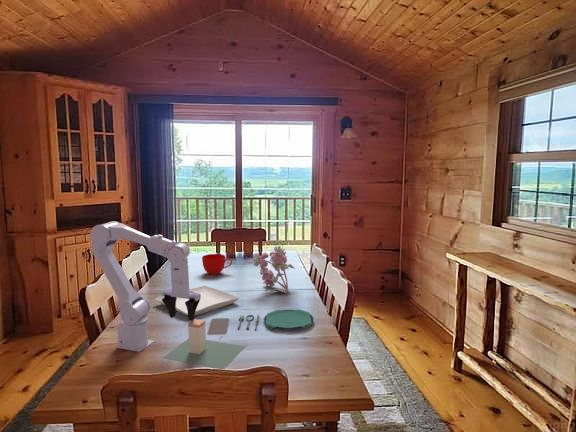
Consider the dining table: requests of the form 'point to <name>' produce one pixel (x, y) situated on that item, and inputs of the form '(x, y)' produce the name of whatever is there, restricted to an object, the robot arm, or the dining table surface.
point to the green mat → (207, 354)
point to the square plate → (205, 300)
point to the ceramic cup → (214, 263)
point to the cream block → (197, 336)
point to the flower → (277, 263)
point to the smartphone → (218, 326)
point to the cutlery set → (283, 319)
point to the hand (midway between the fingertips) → (182, 318)
